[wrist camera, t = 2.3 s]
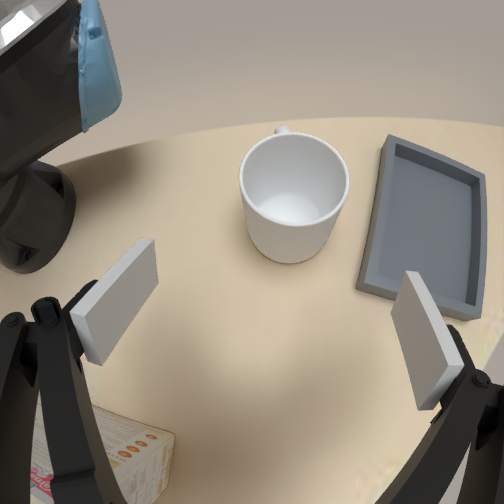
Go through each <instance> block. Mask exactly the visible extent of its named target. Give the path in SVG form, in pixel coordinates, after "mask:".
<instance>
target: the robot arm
mask: <svg viewBox="0 0 504 504" xmlns="http://www.w3.org/2000/svg"><path fill="white" fill-rule="evenodd" d="M121 100H122V92H121V85H120V80H119V76H118V72H117V67H116V63H115V60H114V56H113V51H112V47H111V44H110V39H109V36H108V31H107V28H106V24H105V21H104V16H103V13H102V11H101V8H100V3H99V1H98V0H83V1H82V3H79V2H78V0H0V263H1V264H2V265H4V266H5V267H7V268H9V269H11V270H14V271H16V272H19V273H30V272H33V271H36V270H38V269H39V268H41V267H42V266H44V265H45V264H46V263H47V262H49V261H50V260H51V259H52V257H53V256H54V255H55V254H56V253H57V251H58V250H59V248H60V247H61V245H62V244H63V242H64V240H65V238H66V236H67V234H68V232H69V229H70V226H71V223H72V220H73V216H74V211H75V192H74V188H73V185H72V183H71V181H70V180H69V179H68V178H67V177H66V176H65V175H64V174H63V173H62V172H61V171H60V170H59V169H58V168H56V167H54V166H51V165H49V164H46V163H43V162H40V161H38V159H39V158H41V157H42V156H44V155H45V154H47V153H48V152H50V151H51V150H53V149H54V148H56V147H57V146H59V145H61V144H62V143H64V142H66V141H67V140H69V139H70V138H72V137H74V136H76V135H77V134H79V133H81V132H82V131H83V133H86V132H87V131H88V129H89V128H90V127H92V126H93V125H95V124H97V123H98V122H100V121H102V120H103V119H105V118H107V117H108V116H110V115H112V114H113V113H114V112H115V111H116V110H117V109H118V107H119V106H120V103H121ZM157 285H158V275H157V265H156V255H155V244H154V239H147V238H141V239H140V240H139V241H138V242H137V243H135V244H134V245H133V246H132V247H131V248H130V249H129V250H128V251H127V252H126V253H125V254H124V255H123V256H122V257H121V258H120V259H119V260H118V261H117V262H116V263H115V264H114V265H113V266H112V267H111V268H110V269H109V270H108V271H107V272H106V273H105V274H104V276H103V277H102V278H101V279H100V280H93V281H91V282H89V283H87V284H86V285H85V286H84V287H83V288H82V289H81V290H80V292H78V293H77V294H76V295H75V297H73V298H72V299H71V300H70V301H69V302H68V304H67V305H66V306H65V307H64V308H63V309H62V310H61V307H60V304H59V301H58V299H56V298H55V297H44V298H41V299H39V300H37V301H36V302H35V303H34V304H33V305H32V307H31V312H32V315H33V317H34V320H35V322H27V321H26V319H25V317H24V315H23V314H22V313H21V312H13V313H10V314H8V315H7V316H5V317H4V318H3V320H2V321H1V323H0V504H30V500H31V499H30V483H31V457H32V443H33V432H34V423H35V415H36V408H37V401H38V395H39V389H40V399H41V407H42V415H43V422H44V429H45V435H46V440H47V446H48V451H49V456H50V460H51V465H52V469H53V474H54V477H53V479H51V480H50V489H51V494H52V497H53V501H54V504H128V503H127V502H126V500H125V499H124V497H123V495H122V493H121V490H120V488H119V485H118V483H117V480H116V478H115V475H114V473H113V470H112V467H111V465H110V462H109V459H108V456H107V454H106V451H105V448H104V445H103V442H102V439H101V435H100V432H99V429H98V426H97V422H96V419H95V415H94V412H93V408H92V404H91V401H90V397H89V393H88V388H87V384H86V380H85V375H84V371H83V366H82V362H81V360H80V357H81V356H82V354H83V353H85V356H86V358H87V361H88V362H91V363H94V364H97V365H100V366H102V365H103V364H104V362H105V361H106V359H107V358H108V356H109V355H110V353H111V352H112V350H113V349H114V347H115V346H116V344H117V343H118V341H119V340H120V338H121V337H122V335H123V334H124V332H125V331H126V329H127V328H128V326H129V325H130V323H131V322H132V320H133V319H134V317H135V316H136V314H137V313H138V312H139V310H140V309H141V307H142V306H143V304H144V303H145V302H146V300H147V299H148V297H149V296H150V294H151V293H152V292H153V290H154V289H155V287H156V286H157ZM391 316H392V319H393V322H394V325H395V328H396V332H397V335H398V338H399V341H400V345H401V348H402V352H403V355H404V359H405V362H406V366H407V369H408V373H409V377H410V381H411V384H412V388H413V392H414V397H415V401H416V405H417V409H418V411H420V410H433V409H434V408H435V406H436V405H437V404H438V402H439V401H440V404H441V407H442V408H441V410H440V411H439V412H438V414H437V415H436V416H435V417H434V418H433V420H432V421H431V422H430V423H431V426H430V427H429V429H428V431H427V432H426V434H425V436H424V437H423V439H422V440H421V442H420V443H419V445H418V446H417V448H416V449H415V451H414V452H413V454H412V455H411V457H410V458H409V460H408V461H407V463H406V464H405V465H404V467H403V468H402V470H401V471H400V472H399V474H398V475H397V476H396V478H395V479H394V480H393V482H392V483H391V484H390V485H389V487H388V488H387V489H386V490H385V492H384V493H383V494H382V495H381V497H380V498H379V499H378V500H377V501H376V503H375V504H438V503H439V502H440V500H441V498H442V497H443V495H444V493H445V492H446V490H447V488H448V486H449V485H450V483H451V481H452V479H453V477H454V475H455V473H456V472H457V470H458V467H459V466H460V464H461V462H462V460H463V458H464V455H465V453H466V451H467V449H468V447H469V445H470V442H471V445H470V450H469V455H468V460H467V465H466V469H465V474H464V478H463V482H462V486H461V490H460V493H459V497H458V500H457V503H456V504H504V386H501V385H497V384H493V383H491V380H490V378H489V377H488V375H487V374H486V373H484V372H483V371H481V370H479V369H476V368H475V366H474V364H473V361H472V359H471V357H470V355H469V353H468V351H467V348H465V347H466V346H465V344H464V342H462V338H461V336H460V334H459V332H458V331H457V330H456V329H455V328H454V327H453V326H452V325H446V324H445V322H444V320H443V318H442V316H441V314H440V312H439V310H438V308H437V306H436V304H435V302H434V300H433V298H432V296H431V294H430V293H429V291H428V289H427V287H426V285H425V283H424V282H423V280H422V278H421V276H420V274H419V273H418V272H414V271H405V274H404V277H403V280H402V283H401V286H400V288H399V291H398V294H397V297H396V300H395V302H394V305H393V308H392V311H391Z"/></svg>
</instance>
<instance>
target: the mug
mask: <svg viewBox="0 0 504 504" xmlns="http://www.w3.org/2000/svg"><path fill="white" fill-rule="evenodd" d="M239 185H240V190H241V195H242V200H243V206H244V211H245V216H246V221H247V226H248V231H249V234H250V237H251V239H252V241H253V243H254V245H255V246H256V247H257V249H258V250H259V251H260V252H261V253H262V254H263V255H265V256H266V257H268V258H270V259H272V260H274V261H277V262H281V263H299V262H302V261H305V260H307V259H309V258H311V257H313V256H314V255H315V254H316V253H318V252H319V251H320V249H321V248H322V247H323V246H324V244H325V243H326V241H327V239H328V237H329V235H330V232H331V230H332V228H333V226H334V224H335V222H336V220H337V218H338V215H339V213H340V211H341V209H342V207H343V205H344V202H345V200H346V198H347V195H348V192H349V186H350V178H349V172H348V169H347V166H346V164H345V162H344V160H343V159H342V157H341V156H340V154H339V153H338V152H337V151H336V150H335V149H334V148H333V147H332V146H331V145H329V144H328V143H327V142H325V141H323V140H322V139H320V138H317V137H315V136H312V135H309V134H305V133H299V132H291V130H290V129H289V128H288V127H286V126H283V125H281V126H278V127H277V128H276V129H275V132H274V135H271V136H268V137H266V138H264V139H262V140H261V141H259V142H257V143H256V144H255V145H254V146H253V147H252V148H251V149H250V150H249V151H248V152H247V154H246V155H245V157H244V159H243V161H242V163H241V166H240V170H239Z"/></svg>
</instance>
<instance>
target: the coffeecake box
mask: <svg viewBox="0 0 504 504" xmlns="http://www.w3.org/2000/svg"><path fill="white" fill-rule="evenodd" d="M92 408H93V412H94V415H95V419H96V422H97V426H98V429H99V432H100V435H101V439H102V442H103V445H104V448H105V451H106V454H107V456H108V459H109V462H110V465H111V467H112V470H113V473H114V475H115V478H116V480H117V483H118V485H119V488H120V490H121V493H122V495H123V497H124V499H125V500H126V502H127V503H128V504H153V502H154V501H155V500H156V499H157V498H158V497H159V496H160V494H161V493H162V492H163V491H164V489H165V488H166V487H167V486H168V480H169V472H170V465H171V459H172V453H173V447H174V440H175V434H173V433H170V432H167V431H163V430H160V429H157V428H154V427H151V426H148V425H145V424H142V423H139V422H136V421H133V420H130V419H127V418H124V417H121V416H119V415H116V414H113V413H111V412H108V411H106V410H103V409H100V408H98V407H96V406H93V405H92ZM53 477H54V474H53V469H52V465H51V460H50V456H49V451H48V446H47V440H46V435H45V429H44V422H43V415H42V407H41V399H40V394H39V395H38V401H37V408H36V415H35V423H34V432H33V443H32V457H31V483H30V499H31V500H30V504H54V501H53V497H52V494H51V489H50V480H51V479H53Z"/></svg>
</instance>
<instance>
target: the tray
mask: <svg viewBox="0 0 504 504" xmlns="http://www.w3.org/2000/svg"><path fill="white" fill-rule="evenodd" d="M486 259H487V198H486V182H485V174H483V173H481V172H478V171H476V170H474V169H472V168H470V167H468V166H466V165H464V164H462V163H459V162H457V161H455V160H453V159H451V158H448V157H446V156H444V155H441V154H439V153H437V152H434V151H432V150H429V149H427V148H424V147H422V146H419V145H417V144H414V143H411V142H409V141H406V140H403V139H401V138H398V137H395V136H392V135H390V134H388V136H387V138H386V141H385V143H384V145H383V147H382V150H381V157H380V165H379V172H378V179H377V185H376V192H375V198H374V204H373V209H372V215H371V220H370V226H369V231H368V236H367V241H366V246H365V250H364V255H363V260H362V264H361V269H360V273H359V277H358V281H357V285H356V289H357V290H361V291H364V292H367V293H371V294H374V295H377V296H381V297H384V298H387V299H391V300H394V301H395V300H396V297H397V294H398V291H399V288H400V286H401V283H402V280H403V277H404V274H405V271H414V272H418V273H419V274H420V276H421V278H422V280H423V282H424V283H425V285H426V287H427V289H428V291H429V293H430V294H431V296H432V298H433V300H434V302H435V304H436V306H437V308H438V310H439V312H440V314H442V315H445V316H449V317H452V318H455V319H459V320H462V321H470V320H475V319H479V318H481V312H482V305H483V296H484V286H485V275H486Z"/></svg>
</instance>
